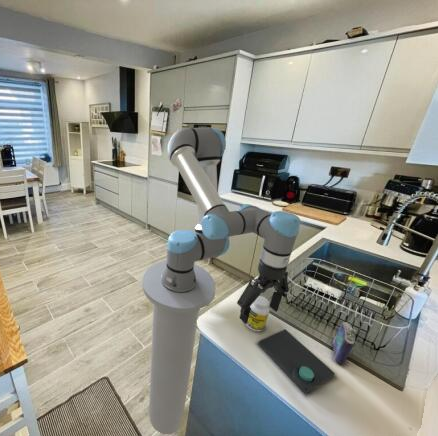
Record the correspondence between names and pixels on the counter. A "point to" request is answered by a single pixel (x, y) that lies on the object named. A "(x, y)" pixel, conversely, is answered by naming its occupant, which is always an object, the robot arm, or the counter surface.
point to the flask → (343, 343)
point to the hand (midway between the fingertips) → (258, 314)
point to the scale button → (306, 373)
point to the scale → (295, 360)
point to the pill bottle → (258, 314)
